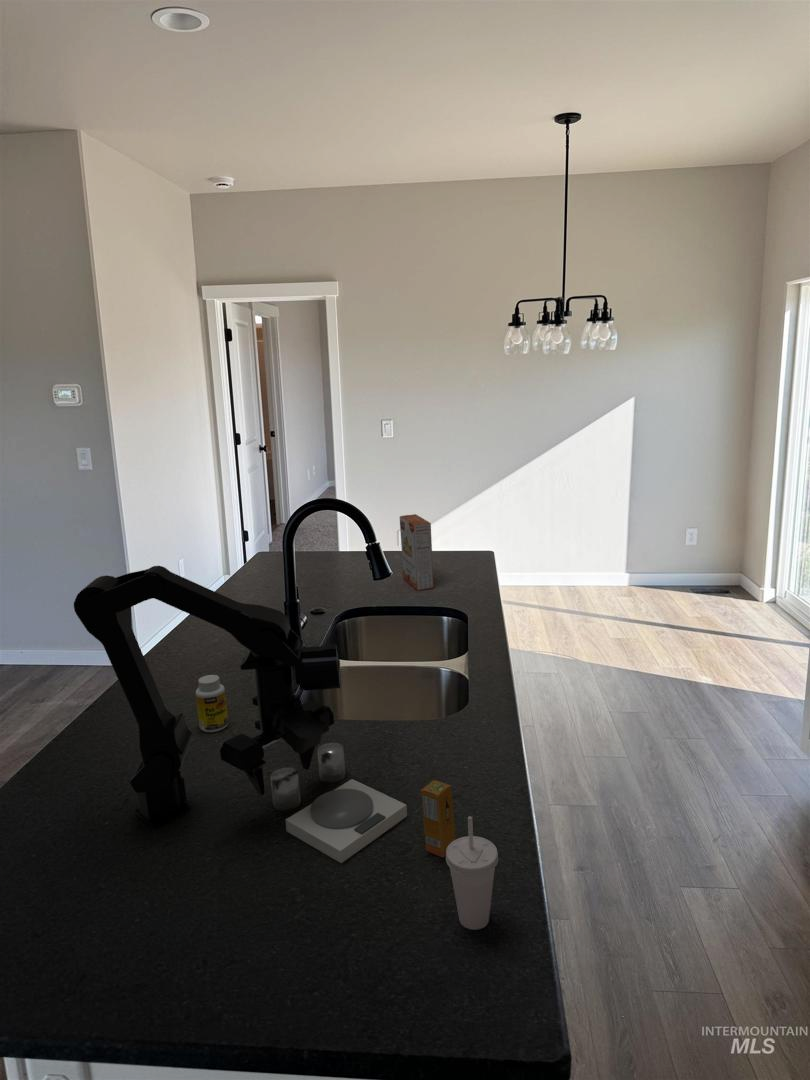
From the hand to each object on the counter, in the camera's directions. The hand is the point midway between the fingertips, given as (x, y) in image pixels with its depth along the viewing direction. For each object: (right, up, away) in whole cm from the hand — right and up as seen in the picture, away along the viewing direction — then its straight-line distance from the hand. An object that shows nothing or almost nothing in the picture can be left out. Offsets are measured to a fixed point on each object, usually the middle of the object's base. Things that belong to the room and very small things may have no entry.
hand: (284, 781), depth 120 cm
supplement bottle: (-18, +2, +28) cm, 33 cm away
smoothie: (+28, -9, -26) cm, 39 cm away
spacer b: (+7, -2, +8) cm, 11 cm away
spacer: (0, -4, +1) cm, 4 cm away
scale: (+11, -5, -6) cm, 13 cm away
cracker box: (+23, +25, +113) cm, 118 cm away
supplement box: (+24, -6, -12) cm, 28 cm away
